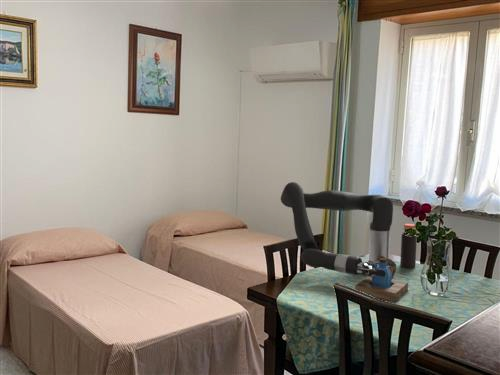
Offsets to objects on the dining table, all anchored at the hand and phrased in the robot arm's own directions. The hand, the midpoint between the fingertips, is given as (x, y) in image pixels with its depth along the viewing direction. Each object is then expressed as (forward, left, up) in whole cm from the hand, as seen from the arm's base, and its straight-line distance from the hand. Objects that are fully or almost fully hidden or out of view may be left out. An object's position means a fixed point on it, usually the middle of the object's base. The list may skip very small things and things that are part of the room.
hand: (388, 271), depth 194 cm
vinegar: (-43, -4, -9) cm, 44 cm away
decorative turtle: (-22, -8, -9) cm, 25 cm away
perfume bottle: (0, -2, -7) cm, 8 cm away
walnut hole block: (0, -2, -9) cm, 9 cm away
